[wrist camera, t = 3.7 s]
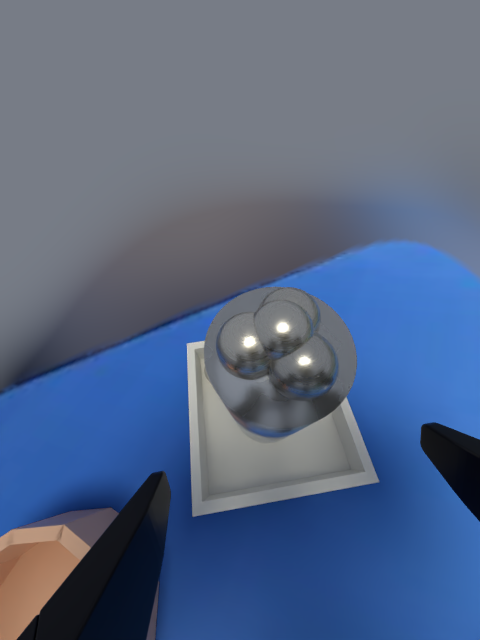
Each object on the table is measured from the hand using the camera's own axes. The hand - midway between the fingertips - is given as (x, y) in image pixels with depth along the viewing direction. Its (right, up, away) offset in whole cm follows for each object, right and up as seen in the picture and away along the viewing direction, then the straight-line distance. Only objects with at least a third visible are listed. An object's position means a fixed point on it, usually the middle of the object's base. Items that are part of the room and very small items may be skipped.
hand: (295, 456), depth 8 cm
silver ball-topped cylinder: (0, -2, +10) cm, 11 cm away
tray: (0, -3, +11) cm, 11 cm away
